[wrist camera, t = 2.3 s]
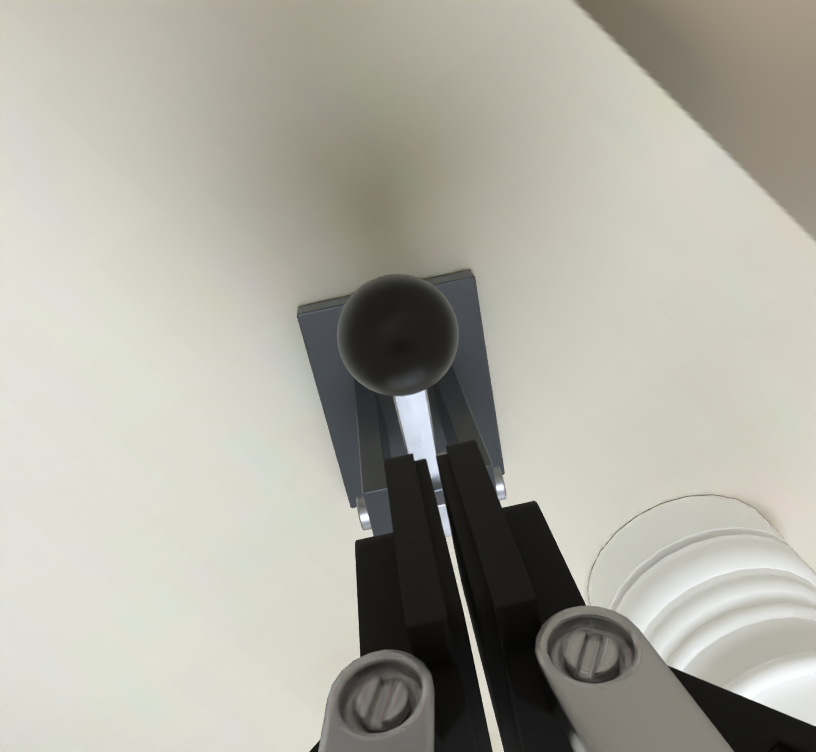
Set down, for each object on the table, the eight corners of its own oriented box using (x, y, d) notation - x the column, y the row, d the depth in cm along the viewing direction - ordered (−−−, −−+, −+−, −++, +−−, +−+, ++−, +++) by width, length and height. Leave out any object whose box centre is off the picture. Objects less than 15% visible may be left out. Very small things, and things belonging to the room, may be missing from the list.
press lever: (318, 263, 19) (331, 353, 17) (439, 237, 20) (467, 324, 17) (386, 486, 30) (400, 561, 27) (465, 468, 30) (485, 542, 27)
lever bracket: (297, 306, 34) (282, 417, 23) (470, 269, 34) (534, 362, 23) (350, 496, 39) (357, 658, 28) (500, 463, 39) (563, 612, 29)
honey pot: (690, 460, 40) (929, 726, 24) (813, 552, 45) (1087, 829, 29) (548, 598, 44) (675, 910, 28) (675, 671, 48) (849, 977, 32)
